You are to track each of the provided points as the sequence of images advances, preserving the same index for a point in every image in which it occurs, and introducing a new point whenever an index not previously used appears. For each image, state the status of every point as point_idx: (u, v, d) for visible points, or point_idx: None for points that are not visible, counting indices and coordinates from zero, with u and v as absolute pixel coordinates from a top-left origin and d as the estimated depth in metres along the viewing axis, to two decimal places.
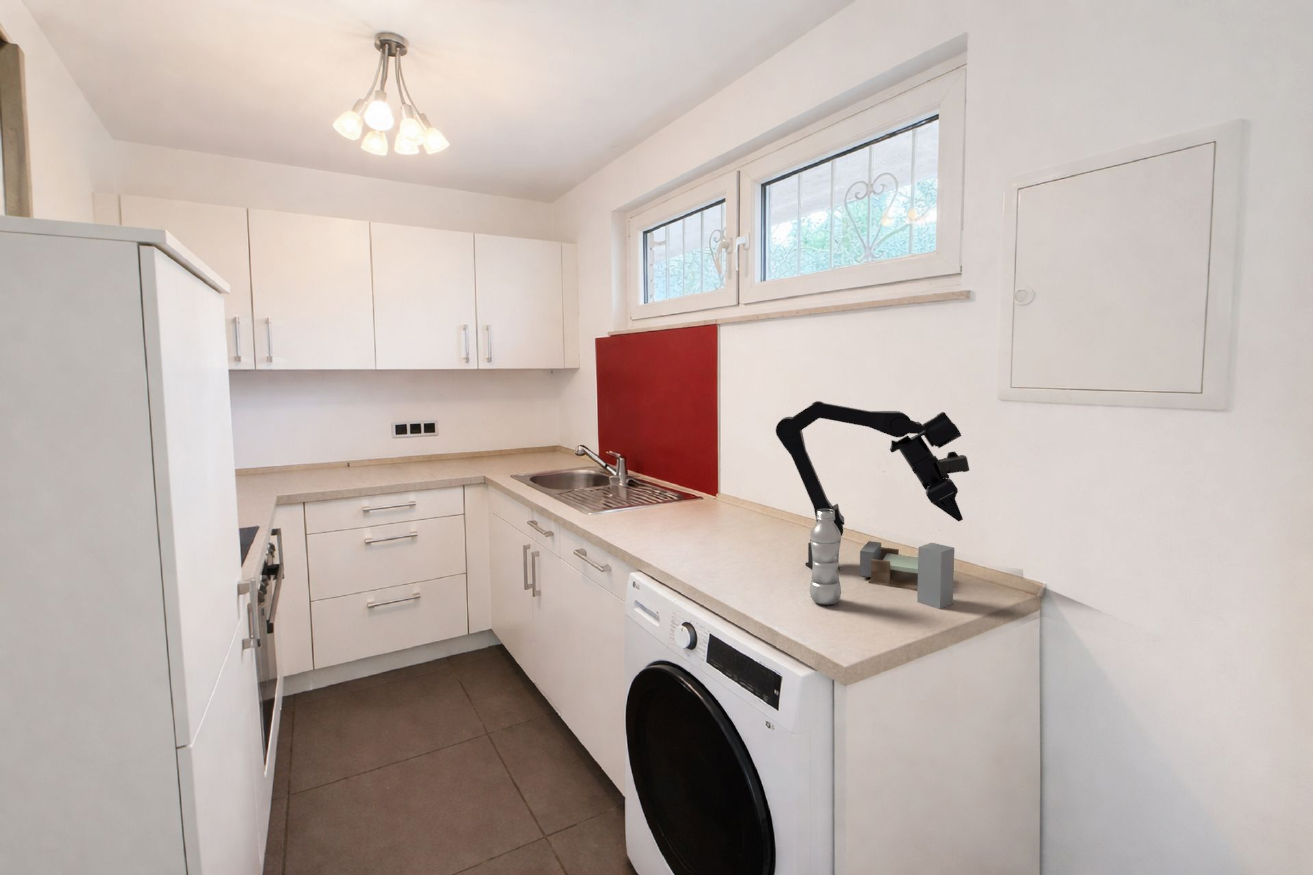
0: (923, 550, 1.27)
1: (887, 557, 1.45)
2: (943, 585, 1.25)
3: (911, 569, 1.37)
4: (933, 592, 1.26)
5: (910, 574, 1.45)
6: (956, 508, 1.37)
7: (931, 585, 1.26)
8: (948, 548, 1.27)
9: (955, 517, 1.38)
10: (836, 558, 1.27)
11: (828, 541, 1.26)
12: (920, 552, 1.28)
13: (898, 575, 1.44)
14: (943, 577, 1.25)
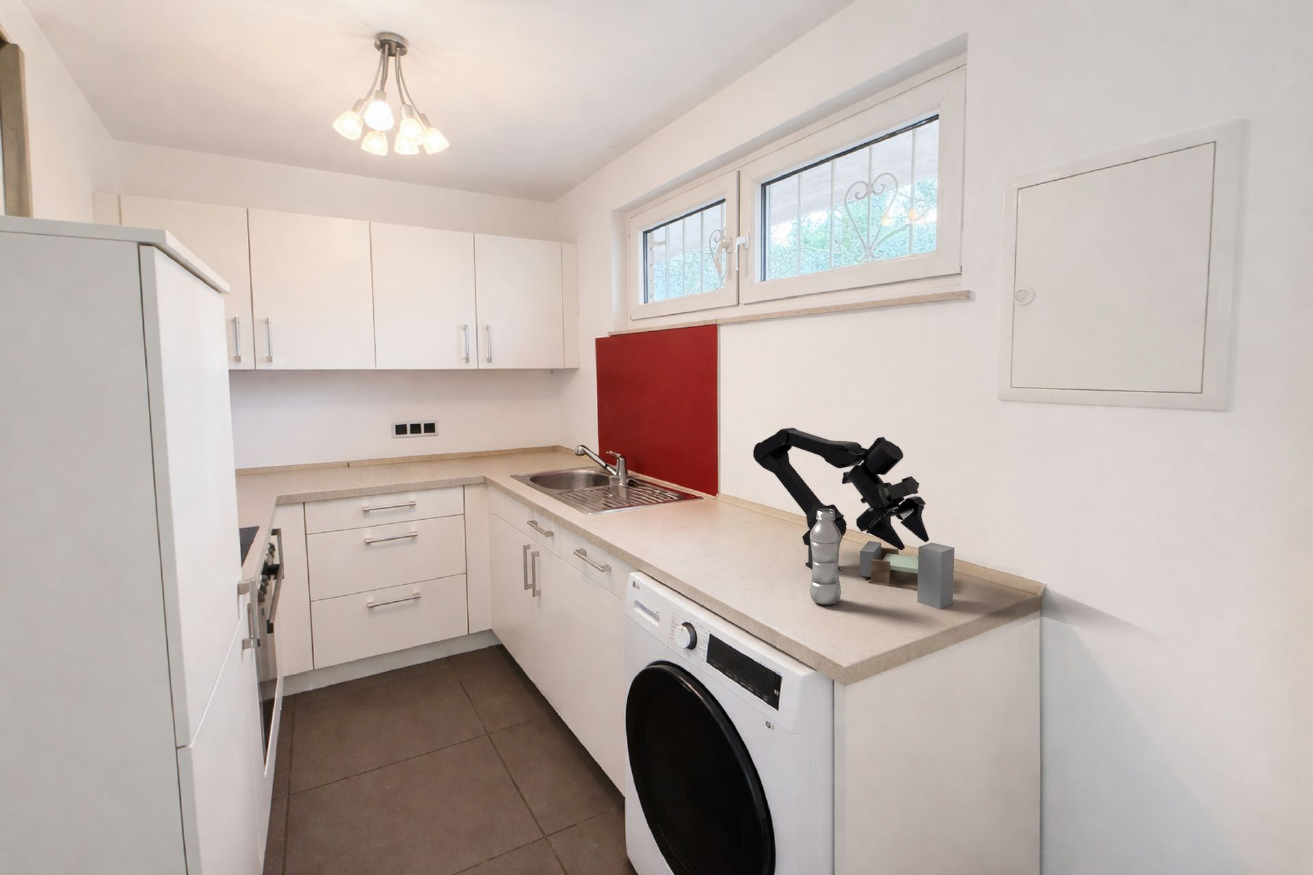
0: (923, 550, 1.27)
1: (887, 557, 1.45)
2: (943, 585, 1.25)
3: (911, 569, 1.37)
4: (933, 592, 1.26)
5: (910, 574, 1.45)
6: (894, 536, 1.29)
7: (931, 585, 1.26)
8: (948, 548, 1.27)
9: (896, 546, 1.29)
10: (836, 558, 1.27)
11: (828, 541, 1.26)
12: (920, 552, 1.28)
13: (898, 575, 1.44)
14: (943, 577, 1.25)
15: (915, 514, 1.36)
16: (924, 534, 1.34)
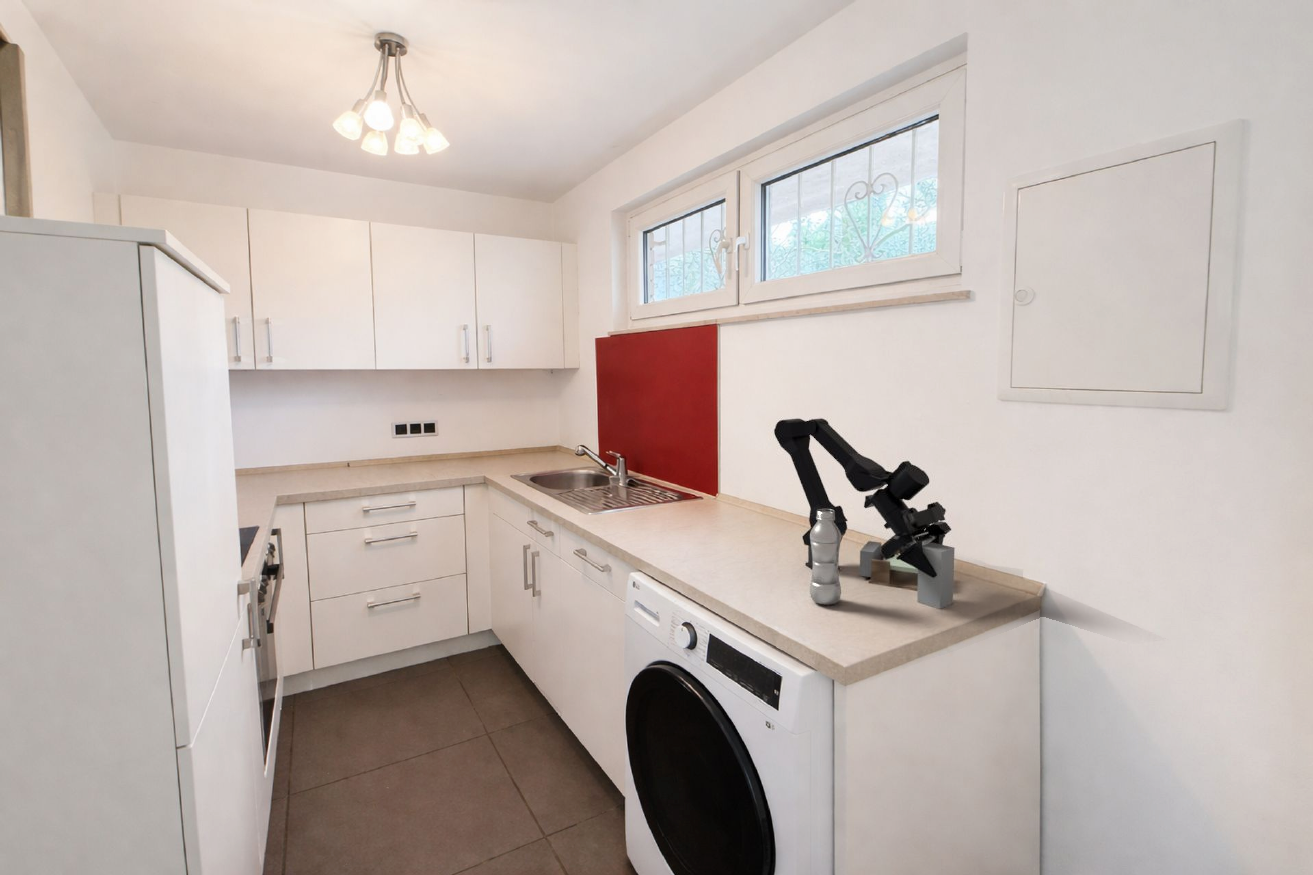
0: (923, 550, 1.27)
1: None
2: (943, 585, 1.25)
3: (911, 569, 1.37)
4: (933, 592, 1.26)
5: (910, 574, 1.45)
6: (925, 563, 1.26)
7: (931, 585, 1.26)
8: (948, 548, 1.27)
9: (927, 573, 1.26)
10: (836, 558, 1.27)
11: (828, 541, 1.26)
12: None
13: (898, 575, 1.44)
14: (944, 577, 1.25)
15: (936, 542, 1.31)
16: None
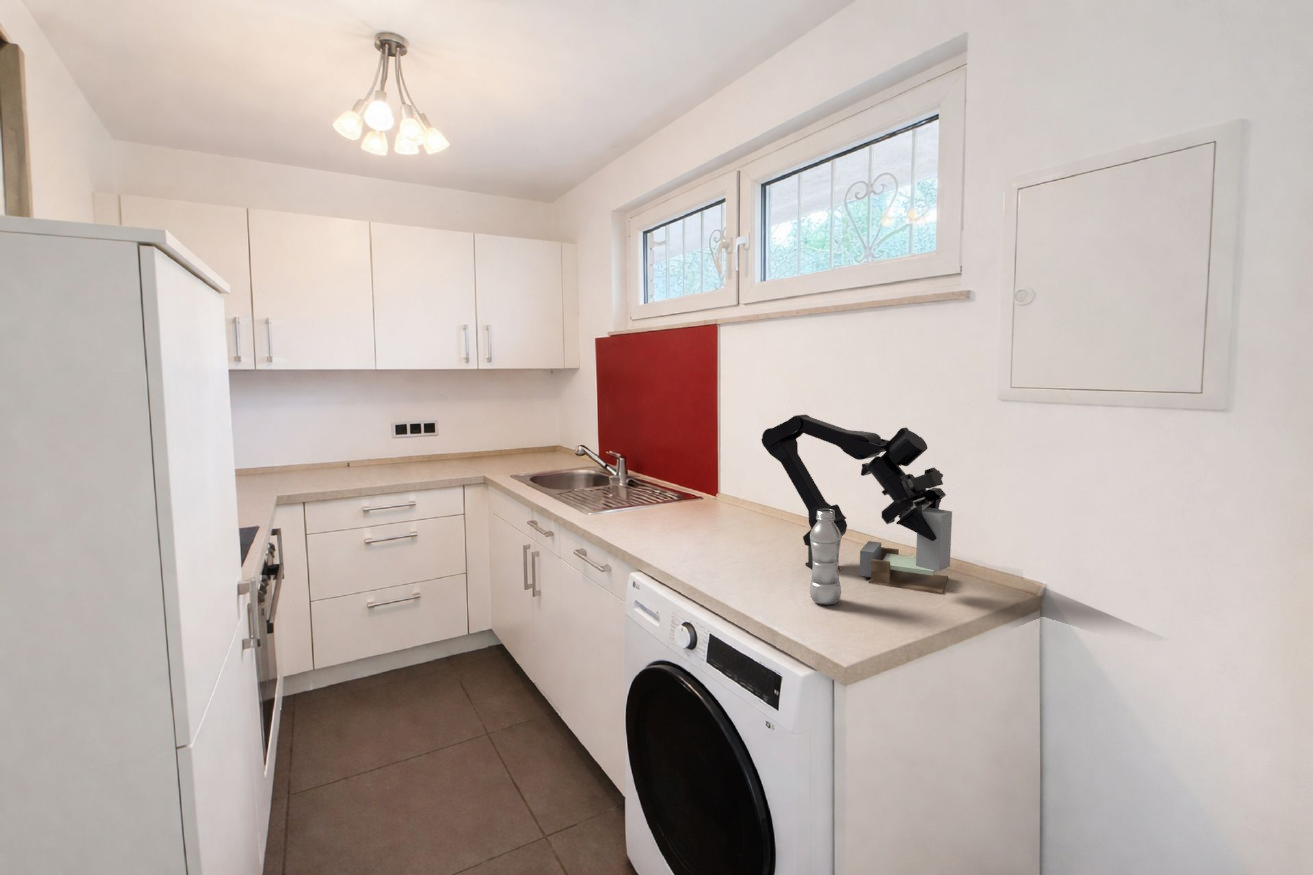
0: (922, 515, 1.29)
1: (887, 557, 1.45)
2: (942, 548, 1.28)
3: (911, 569, 1.37)
4: (932, 555, 1.28)
5: (910, 574, 1.45)
6: (925, 526, 1.28)
7: (930, 548, 1.29)
8: (946, 512, 1.29)
9: (927, 536, 1.28)
10: (836, 558, 1.27)
11: (828, 541, 1.26)
12: None
13: (898, 575, 1.44)
14: (943, 540, 1.28)
15: (933, 507, 1.33)
16: None
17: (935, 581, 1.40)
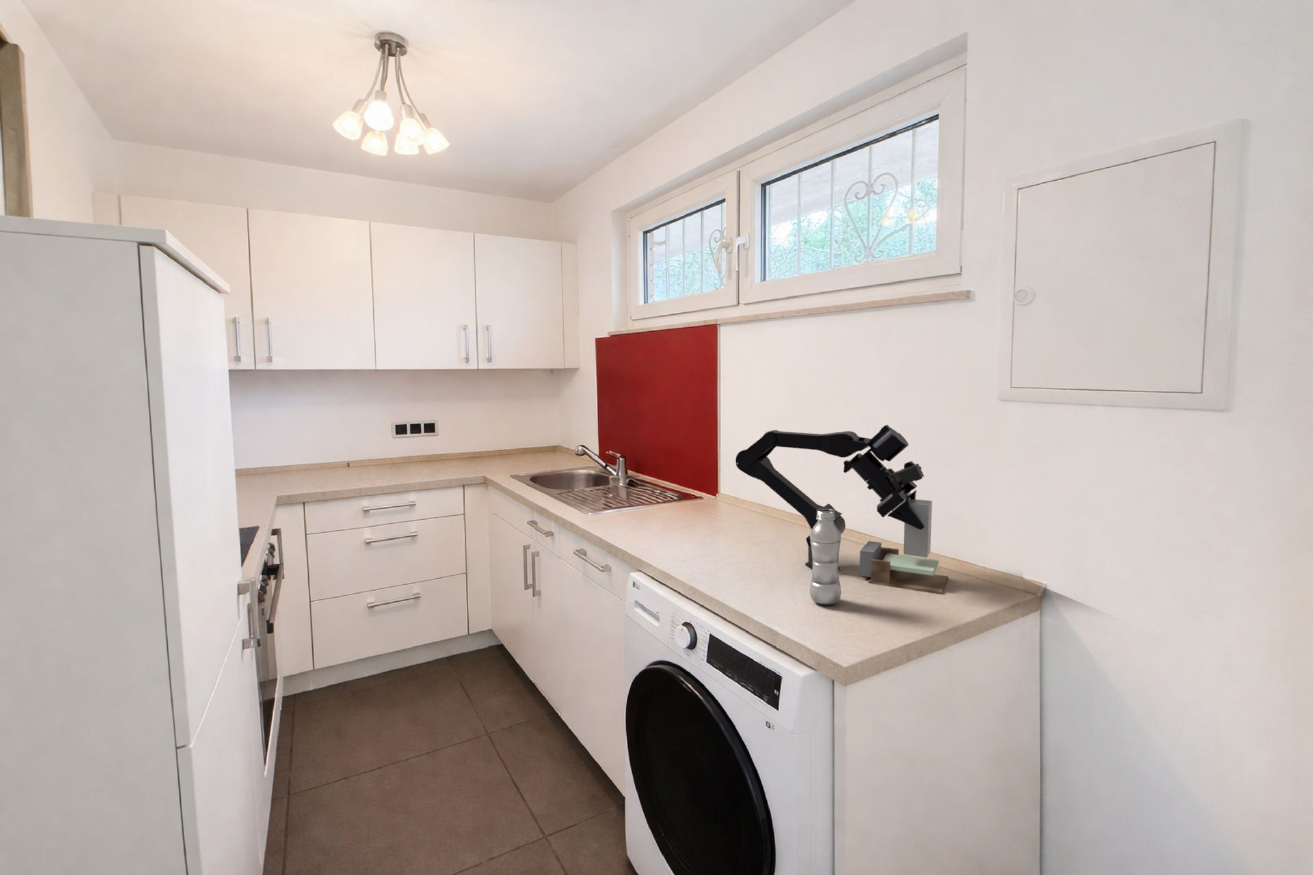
0: None
1: (887, 557, 1.45)
2: (928, 535, 1.37)
3: (911, 569, 1.37)
4: (920, 543, 1.38)
5: (910, 574, 1.45)
6: (914, 517, 1.37)
7: (918, 537, 1.38)
8: (928, 501, 1.39)
9: (916, 526, 1.37)
10: (836, 558, 1.27)
11: (828, 541, 1.26)
12: None
13: (898, 575, 1.44)
14: (928, 528, 1.38)
15: (912, 498, 1.43)
16: None
17: (935, 581, 1.40)
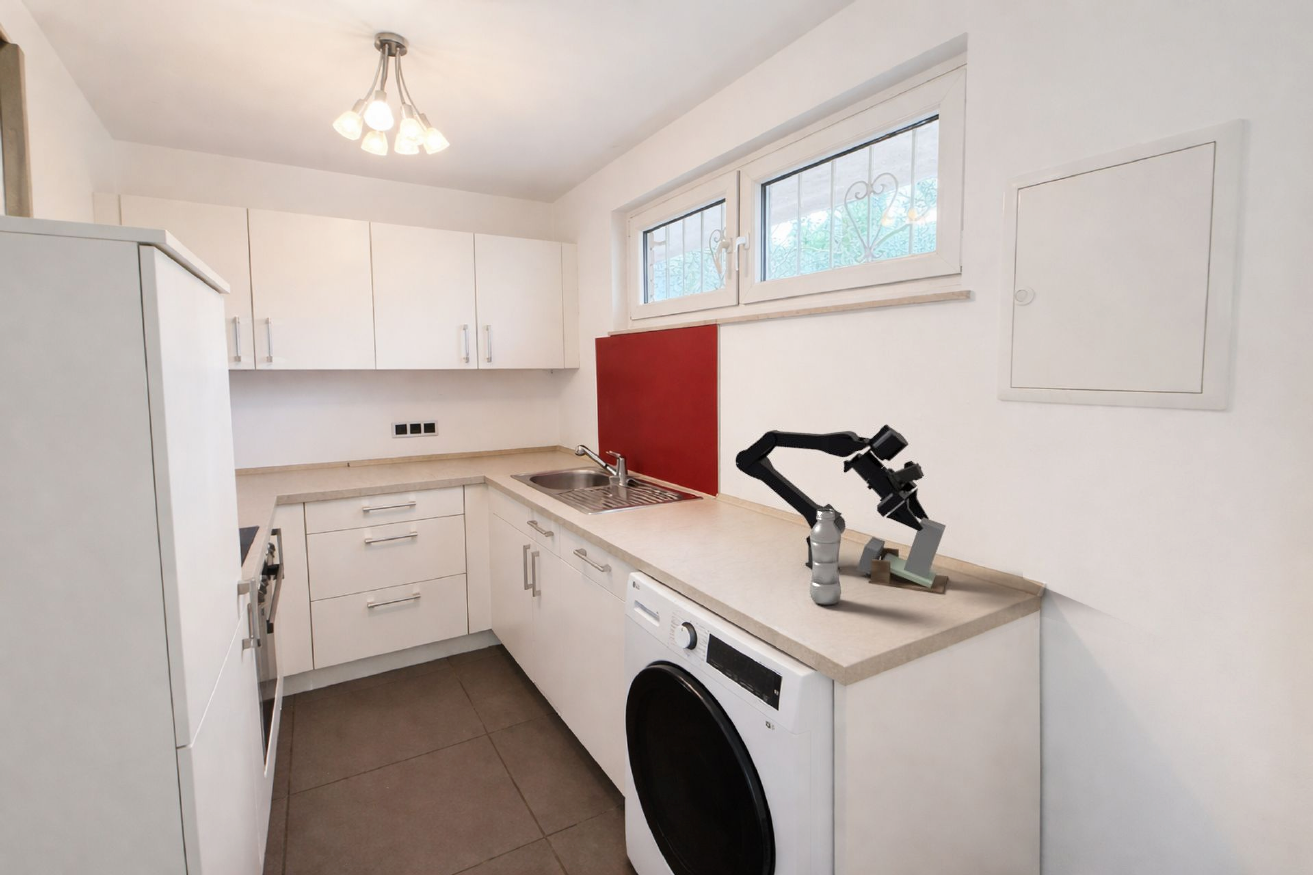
0: (924, 526, 1.37)
1: (888, 557, 1.45)
2: (933, 558, 1.37)
3: (910, 577, 1.38)
4: (923, 563, 1.38)
5: None
6: (913, 518, 1.35)
7: (923, 557, 1.38)
8: (943, 526, 1.38)
9: (914, 527, 1.35)
10: (836, 558, 1.27)
11: (828, 541, 1.26)
12: None
13: (898, 575, 1.44)
14: (935, 552, 1.37)
15: (913, 496, 1.44)
16: (924, 514, 1.43)
17: (935, 581, 1.40)
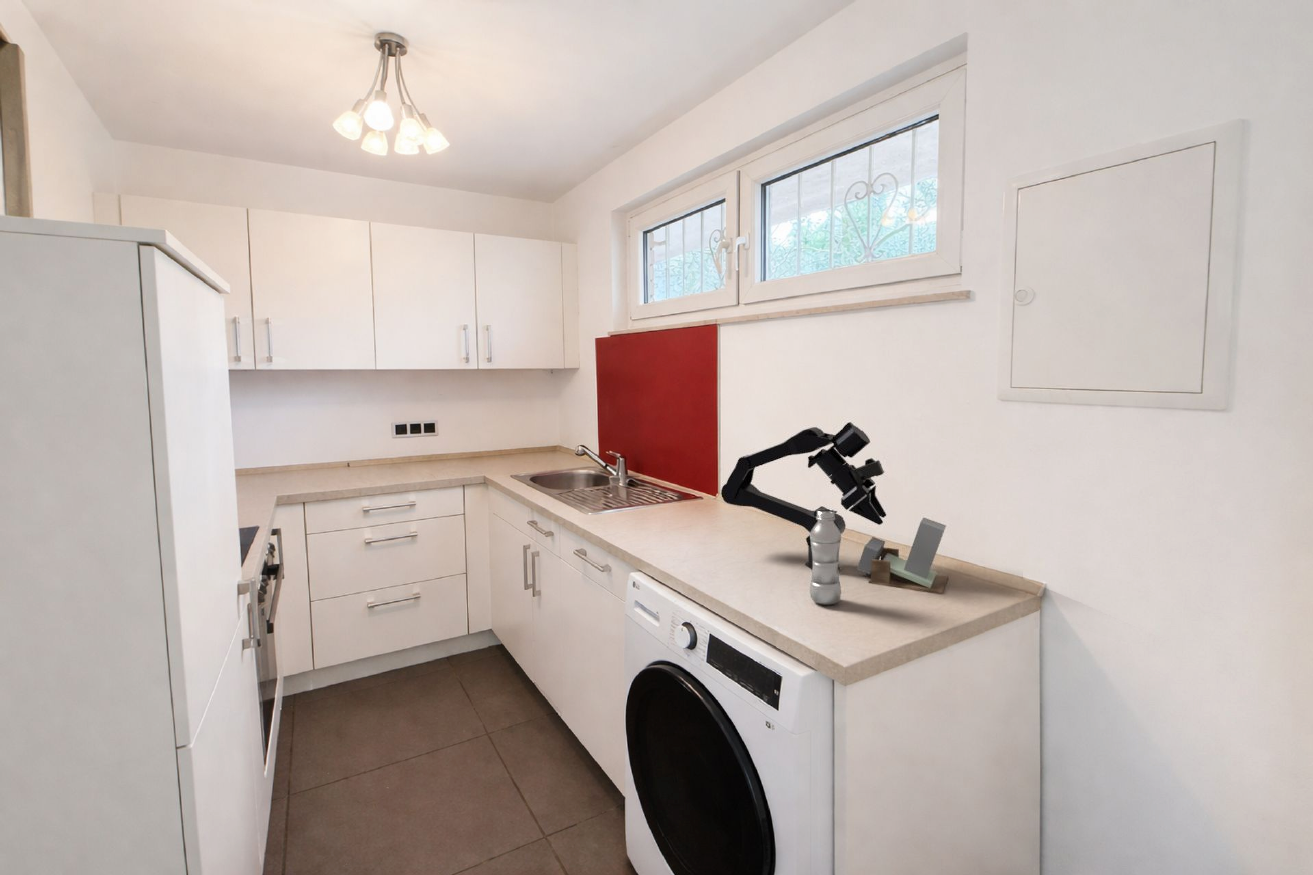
0: (924, 526, 1.37)
1: (888, 557, 1.45)
2: (933, 558, 1.37)
3: (910, 577, 1.38)
4: (924, 564, 1.38)
5: None
6: (874, 512, 1.40)
7: (923, 557, 1.38)
8: (943, 526, 1.38)
9: (875, 521, 1.40)
10: (836, 558, 1.27)
11: (828, 541, 1.26)
12: (920, 527, 1.37)
13: (898, 575, 1.44)
14: None
15: (872, 493, 1.50)
16: (882, 510, 1.49)
17: (935, 581, 1.40)
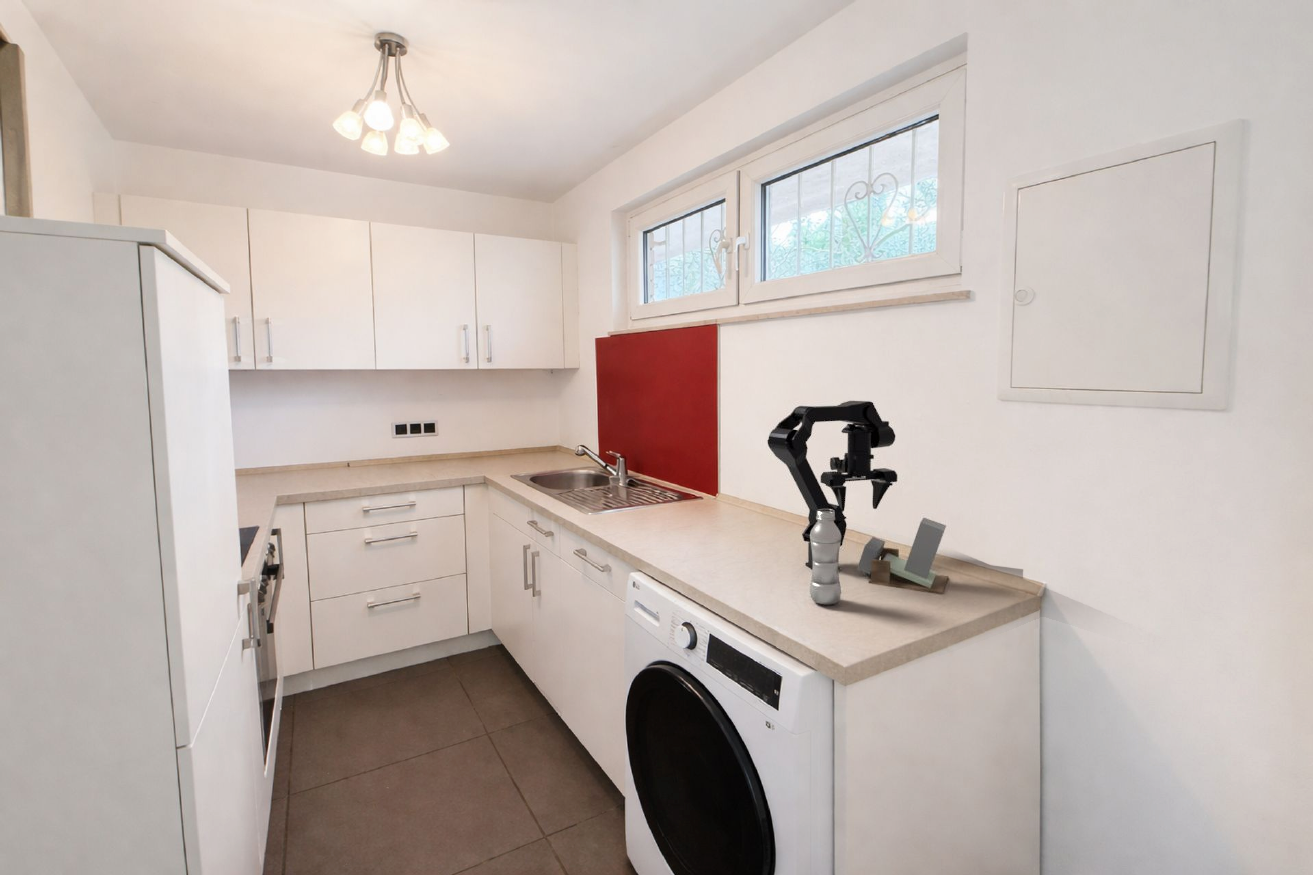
0: (924, 526, 1.37)
1: (888, 557, 1.45)
2: (933, 559, 1.37)
3: (910, 577, 1.38)
4: (924, 564, 1.38)
5: None
6: None
7: (923, 557, 1.38)
8: (943, 526, 1.38)
9: None
10: (836, 558, 1.27)
11: (828, 541, 1.26)
12: (920, 527, 1.37)
13: (898, 575, 1.44)
14: None
15: None
16: None
17: (935, 581, 1.40)
